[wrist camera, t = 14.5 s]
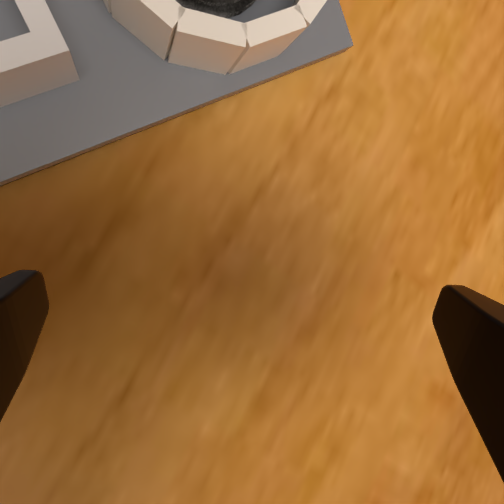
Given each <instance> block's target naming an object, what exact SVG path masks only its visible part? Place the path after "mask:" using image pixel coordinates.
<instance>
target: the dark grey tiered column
mask: <svg viewBox="0 0 504 504" xmlns="http://www.w3.org/2000/svg"><path fill="white" fill-rule="evenodd" d="M176 1H177V2H178V3H179V4H180V5H181V6H182V7H184V8H188V9H192V10H196V11H200V12H204V13H207V14H211V15H215V16H219V17H223V18H227V19H228V18H231V17H233V16H236V15H239V14H241V13H242V12H244V11H245V10H246V9H248V8H249V7H250V6H252V5H253V3H254V2H255V1H256V0H176Z"/></svg>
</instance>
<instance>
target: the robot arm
mask: <svg viewBox="0 0 504 504" xmlns="http://www.w3.org/2000/svg"><path fill="white" fill-rule="evenodd" d="M48 310H49V301H48V296H47V291H46V287H45V282H44V278H43V275H42V273H41V272H39V271H36V270H19V271H16V272H14V273H12V274H9V275H7V276H5V277H2V278H0V422H1V420H2V418H3V416H4V414H5V412H6V410H7V408H8V406H9V404H10V402H11V400H12V398H13V396H14V394H15V392H16V390H17V389H18V387H19V385H20V383H21V381H22V378H23V376H24V374H25V372H26V370H27V367H28V365H29V362H30V360H31V357H32V354H33V352H34V349H35V346H36V343H37V341H38V338H39V335H40V333H41V330H42V327H43V325H44V322H45V319H46V317H47V314H48ZM432 320H433V325H434V328H435V331H436V333H437V336H438V339H439V342H440V344H441V347H442V350H443V353H444V355H445V358H446V361H447V364H448V366H449V369H450V372H451V374H452V377H453V379H454V382H455V384H456V386H457V388H458V390H459V392H460V394H461V397H462V399H463V401H464V403H465V405H466V407H467V409H468V411H469V413H470V415H471V417H472V419H473V421H474V423H475V425H476V427H477V429H478V431H479V433H480V435H481V437H482V439H483V442H484V444H485V446H486V448H487V450H488V452H489V454H490V456H491V458H492V460H493V462H494V464H495V466H496V468H497V470H498V472H499V474H500V476H501V478H502V480H503V482H504V305H502V304H500V303H498V302H496V301H494V300H492V299H490V298H488V297H486V296H484V295H482V294H480V293H478V292H476V291H474V290H472V289H470V288H467V287H465V286H462V285H446V286H444V287H443V288H442V290H441V292H440V295H439V297H438V300H437V303H436V306H435V309H434V311H433V316H432Z"/></svg>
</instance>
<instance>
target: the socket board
mask: <svg viewBox="0 0 504 504" xmlns="http://www.w3.org/2000/svg"><path fill="white" fill-rule="evenodd" d="M352 46H353V42H352V39H351V36H350V33H349V30H348V27H347V24H346V21H345V18H344V15H343V12H342V9H341V6H340V3H339V0H256V1H255V2H254V3H253V5H252V6H250V7H249V8H248V9H246V10H245V11H244V12H242V13H241V14H239V15H236V16H233V17H231V18H228V19H227V18H223V17H219V16H215V15H211V14H207V13H204V12H200V11H196V10H192V9H188V8H184V7H182V6H181V5H180V4H179V3H178V2H177V1H176V0H0V186H1V185H4V184H6V183H9V182H12V181H14V180H17V179H19V178H22V177H24V176H27V175H29V174H32V173H35V172H37V171H40V170H42V169H45V168H47V167H50V166H53V165H55V164H58V163H60V162H63V161H65V160H68V159H71V158H73V157H76V156H78V155H81V154H83V153H86V152H88V151H91V150H94V149H96V148H99V147H101V146H104V145H106V144H109V143H112V142H114V141H117V140H119V139H122V138H124V137H127V136H130V135H132V134H135V133H137V132H140V131H142V130H145V129H147V128H150V127H153V126H155V125H158V124H160V123H163V122H165V121H168V120H171V119H173V118H176V117H178V116H181V115H183V114H186V113H189V112H191V111H194V110H196V109H199V108H201V107H204V106H206V105H209V104H212V103H214V102H217V101H219V100H222V99H224V98H227V97H230V96H232V95H235V94H237V93H240V92H242V91H245V90H248V89H250V88H253V87H255V86H258V85H260V84H263V83H265V82H268V81H271V80H273V79H276V78H278V77H281V76H283V75H286V74H289V73H291V72H294V71H296V70H299V69H301V68H304V67H307V66H309V65H312V64H314V63H317V62H319V61H322V60H324V59H327V58H330V57H332V56H335V55H337V54H340V53H342V52H345V51H346V50H348V49H349V48H350V47H352Z"/></svg>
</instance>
